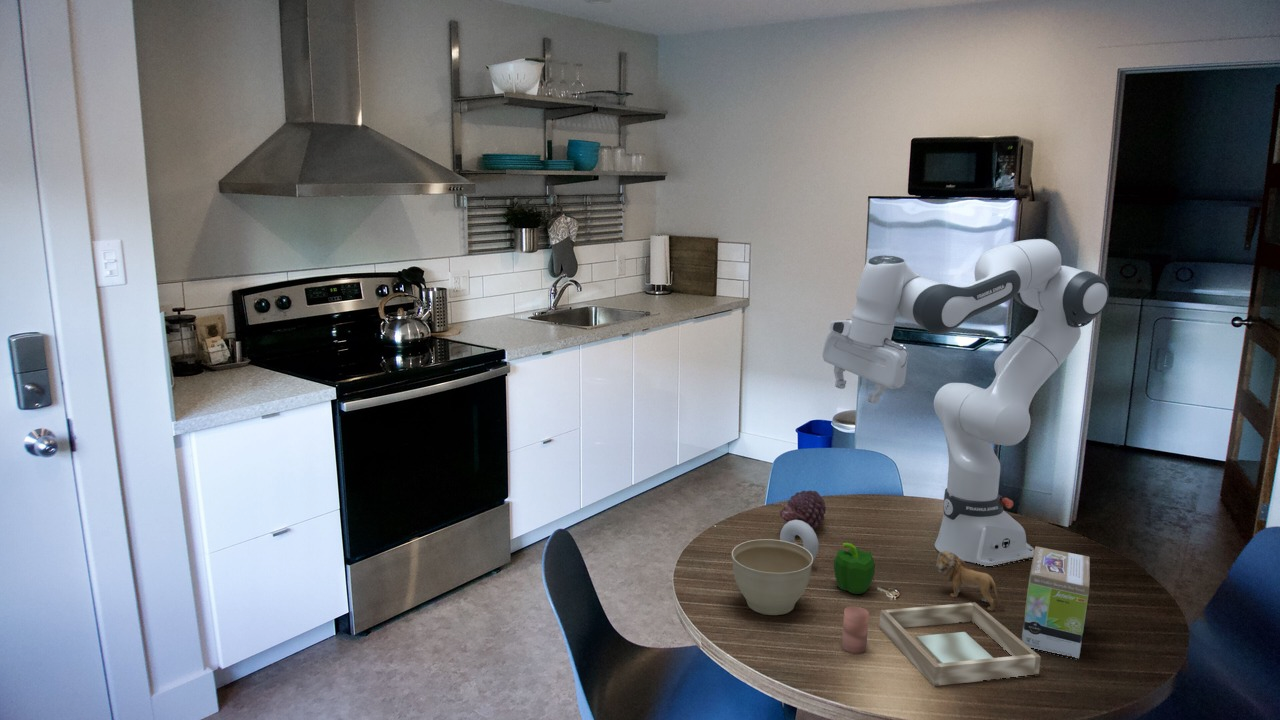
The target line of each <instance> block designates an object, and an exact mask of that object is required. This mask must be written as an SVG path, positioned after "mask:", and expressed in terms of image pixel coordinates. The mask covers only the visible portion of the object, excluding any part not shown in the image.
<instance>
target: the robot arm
mask: <svg viewBox="0 0 1280 720" xmlns="http://www.w3.org/2000/svg"><path fill="white" fill-rule="evenodd" d="M905 260H906V259H903V258H902V257H898V256H896V255H895V256H894V255H877V256H873V257H870V258H869V259H868V260H867V262H866V263H865V265H864V268H863V270H862V273H861V274H860V278H859V282H858V287H857V291H856V295H855V296H856V305H855V307H854V310H852V313H851V317H850V319H848V318H847V319H845V320H843V319H842V320H841V319H840V320H832V321H830V325H829V332H828V334H827V336H826V339H825V341H824V345H823V350H822V358H823V361H824V363H825V362H826V363H828V364H830V365H832V366H834V367H833V373H834V377H835V383H834V387H835V388H837V389H840V390H842V389H843V390H844V389H845V388H846V384H847V380H845V378H844V377H845V376H844V372H846V371H847V372H849V373H852V374H854V375H857V376H858V377H861V378H864V379H866V380H869V381H870V382H873V383H875V385H874V388H875V390H874V391H873V393H869V394H868V398H867V401H868V402H869V403H872V404H873V405H875V404H878V403H879V402H880V398H881V396H882V395H883V394H884V393H885V392H886V391H887V389H889V390H890V389H891V390H892V389H893V390H894V389H895V390H896V389H900V388H902V387H903V386H904V385H905V381H906V375H907V367H908V365H907V364H908V359H909V352H908V349H907V348H906V347H905V344H902V343H901V342H900V343H899V342H897V341H894V340H892V337H893V332H894V328H895V325H896V319H897V318H900V319H903V320H905V321H907V322H909V323H912V324H914V325H916V326H919V327H921V328H923V329H924V330H926V331H928V332H930V333H931V334H934V335H945V334H948V333H951V332H952V331H954V330H955V329H957V328H958V327H960V326H961V325H962V324H964V323H965V322H966V321H967V320H970V319H971V318H973V317H975V316H977V315H979V314H981V313H984V312H986V311H988V310H990V309H993V308H995V307H997V306H999V305H1002V304H1004V303H1006V302H1008V301H1010V300H1012V299H1013V298H1014V299H1015V301H1016V302H1018V303H1019V304H1021V305H1022V306H1024V307H1027V308H1032V309H1035V310H1037V311H1038V312H1037V315H1036V317H1035V319H1034V321H1033V322H1032V323H1031V324H1029V325H1028V326H1027V327H1026V328H1025V329H1024V330H1022V332H1020V333H1019V335H1017V337H1015V339H1014V340H1012V342H1011V343H1010V344H1009V345H1008V346H1007V347H1006V348H1005V349H1004V350H1003V352H1002V353H1000V354H999V356H997V358H996V359H995V360H994V365H993V367H994V372H995V374H996V375H995V376H994V379H993V381H992V383H991V384H990V385H989V386H988V387H987V388H983V387H980V386H977V385H974V384H972V383H967V382H948V383H946V384H944V385H943V386H941V387H940V388H939V389H938V390H937V392H936V393H935V396H934V399H933V408H934V412H935V414H936V416H937V418H938V419H939V421H940V423H941V425H942V428H943V432H944V437H945V442H946V446H947V453H948V472H947V483H946V484H947V485H946V488H945V490H944V494H943V495H944V496H943V506H942V507H943V514H942V515H943V516H942V520H941V524H940V529H939V532H938V536H937V538H936V540H935V542H934V548H935V549H936V550H937V551H938V553H941V552H943V551H949V552H952V553H953V554H955V555H956V556H958V558H960V559H962V560H963V561H964V562H968V563H973V564H976V563H977V564H976V565H979V564H980V565H979V566H982V565H984V566H983V567H986V566H993V565H998V564H1002V563H1006V562H1010V561H1016V560H1020V559H1023V558H1028V557H1033V555H1034V550H1035V548H1034V547H1033V546H1031V544H1029V543H1027V536H1026V530H1025V528H1024V527H1023V526H1022V525H1021V523H1019V522H1018V521H1017V520H1015V519H1014V518H1013V517H1012V516H1011V515H1010V514H1009V513H1007V511H1005V509H1004V507H1005V508H1007V509H1012V507H1014V501H1013V500H1012V499H1011V498H1010V499H1009V498H1008V497H1003V496H1002V495H1000V494H999V487H1000V477H1001V476H1000V475H1001V463H1000V460H999V458H998V456H997V455H996V453H995V452H994V449H993V447H992V444H993V445H998V446H999V445H1001V446H1007V447H1010V446H1011V447H1012V446H1015V445H1018V444H1019V443H1020V442H1022V441H1023V440H1024V439H1025V438H1026V436H1027V435H1028V433H1029V431H1030V427H1031V415H1030V410H1029V409H1030V406H1031V403H1032V401H1033V398H1034V397H1035V394H1036V393H1037V392H1038V390H1039V389H1040V388H1041V386H1043V384H1045V382H1046V381H1047V380H1048V379H1049V378H1050V377H1051V376H1052V375H1053V374H1054V373H1055V372H1056V370H1057V369H1059V368H1060V367H1061V365H1062V364H1063V363H1064V362H1065V360H1067V358H1068V357H1069V355H1070V354H1071V353H1072V351H1073V349H1074V348H1075V347H1076V345H1077V344H1078V342H1079V340H1080V338H1081V333H1082V332H1081V331H1082V330H1081V328H1082V327H1085V326H1087V325H1089V324H1090V323H1091V322H1092V321H1093V320H1094V319H1095V318H1097V317H1098V316H1099V314H1101V312H1102V311H1103V310H1104V309H1105V307H1106V306H1107V304H1108V302H1109V297H1110V291H1109V290H1110V288H1109V285H1108V281H1107V280H1106V279H1104V278H1103V277H1102V276H1100V275H1098V274H1096V273H1094V272H1092V271H1089V270H1083V269H1079V268H1076V267H1073V266H1068V265H1062V255H1061V252H1060V250H1059V248H1058V246H1056V245H1055V244H1054V242H1052V241H1050V240H1048V239H1045V238H1037V239H1036V238H1033V239H1032V238H1031V239H1025V240H1023V239H1022V240H1017V241H1014V242H1010V243H1009V242H1008V243H1006V244H1002V245H998V246H995V247H993V248H991V249H989V250H987V251H984V253H982V254H980V255H979V258H978V259H977V260H976V264H975V266H974V282H972V283H970V284H969V283H968V284H967V285H963V286H955V285H952V284H946V283H942V282H940V281H937V280H934V279H931V278H927V277H925V276H922V275H921V274H919V273H917V272H915V271H914V270H913V269H912V268H910V266H908V264H907V263H906V261H905ZM1030 550H1032V551H1030ZM998 566H999V565H998ZM993 567H994V566H993Z"/></svg>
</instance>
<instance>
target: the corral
mask: <svg viewBox="0 0 1280 720" xmlns="http://www.w3.org/2000/svg"><path fill="white" fill-rule="evenodd" d="M970 621H972V622H970ZM959 622H962V623H972V624H974V623H975V624H976V625H977V626H978V627H979V629H980V630H981V629H982V630H983V631H984V632H985V633H986V634H988V635H989V636H990V637H991V638H992V639H994V640H995V641H996V642H997V643H998V644H999V645H1000V646H1001V647H1003V649H1002V650H1003V651H1005V650H1006V651H1007V652H1008V653H1009V654H1010V655H1012V656H1010V655H1009V654H1008V653H1007V652H1006V651H1005V652H1006V653H1007V654H1008V655H1009V656H1001V657H993V656H992V655H991V654H990V653H989V652H988V651H987V650H986V649H984V647H982V646H981V645H980V644H979V643H978V642H976V640H975V639H973V638H972V637H971V636H970V635H969V633H967V632H966V631H960V632H948V633H939V634H938V633H936V634H928V635H927V634H926V635H916V637H915V638H916V640H917V641H916V640H915V639H914V638H913V636H912V635H910V633H909V632H908V631H907V630H906V629H905V628H915V627H916V628H917V627H927V626H928V627H929V626H938V625H939V626H940V625H949V624H960V623H959ZM975 624H974V625H975ZM976 625H975V626H976ZM977 626H976V627H977ZM978 627H977V628H978ZM879 629H881V631H882V632H883V633H884V634H885V635H886V636H887V637H888V638H889V639H890V640H891V641H892V643H893V644H894V645H895V646H896V647H897V648H898V649H899V650H900V651H901V652H902V653H903V654H904V656H905V657H906V658H907V659H908V660H909V661H910V663H912V664H913V666H914V667H915V668H916V669H918V671H919V672H920V673H921V675H923V676H924V677H925V678H926V679H927V680H928V682H929V683H930V684H931V685H932V686H933V687H937V686H946V685H947V686H949V685H956V684H965V683H976V682H984V681H983V680H987V681H992V680H991V679H996V680H1003V679H1002V678H1006V679H1011V678H1010V677H1016V678H1019V677H1018V676H1025V677H1028V676H1027V675H1034V674H1040V667H1041V658H1042V657H1041V656H1040V655H1039V654H1038V653H1037V652H1035V650H1034V649H1031V648H1030V647H1028V646H1027V645H1026V644H1025V643H1024V642H1022V639H1020V638H1018V637H1017V635H1015V634H1014V633H1012V631H1011V630H1009V629H1008V628H1007V627H1006V626H1004V625H1003V624H1002V623H1000V622H999V620H997V619H996V618H995V617H993V616H992V615H991V614H990V613H988V612H987V611H986V610H985V609H984V608H982V606H980V605H979V604H978V603H976V602H975V601H973V602H965V603H954V604H953V603H952V604H942V605H941V604H940V605H938V604H937V605H929V606H918V607H917V606H916V607H907V608H904V607H903V608H895V609H894V608H893V609H892V608H891V609H882V610H880V615H879ZM982 630H981V631H982ZM983 631H982V632H983ZM984 632H983V633H984ZM985 633H984V634H985ZM986 634H985V635H986ZM988 635H987V636H988ZM989 636H988V637H989ZM990 637H989V638H990ZM991 638H990V639H991ZM992 639H991V640H992ZM918 642H920V644H921V645H922V646H923V647H924V648H925V649H926V650H927V651H928V652H929V653H930V654H931V655H932V656H933V657H934V658H935V659H936V660H937V661H936V660H935V659H934V658H933V657H932V656H931V655H930V654H929V653H928V652H927V651H926V650H925V649H924V648H923V647H922V646H921V645H920V644H919V643H918ZM996 642H995V643H996ZM997 643H996V644H997ZM998 644H997V645H998ZM999 645H998V646H999ZM1000 646H999V647H1000ZM1001 647H1000V648H1001ZM938 662H939V663H938ZM1000 678H1001V679H1000Z"/></svg>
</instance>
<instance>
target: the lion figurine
mask: <svg viewBox="0 0 1280 720" xmlns="http://www.w3.org/2000/svg"><path fill="white" fill-rule="evenodd" d="M937 555H938V556H937V559H936V563H935V564H936V565H935V567H936V568H937V571H938V572H940V573H941V574H942V575H943V576H944V577H945V579H946V580H948V581H950V582H952V591H953V592H950V594H949V595H950V597H951V598H957V597H958V595H959V593H960V592H961V590H962V585H964V586H966V587H969V588H972V589H973V588H975V589H976V588H979V590H980V594H981V595H982V598H981V601H982V602H983V601H985V602H984V603H988V604H989V605H990V606H987V607H986V609H988V610H991V611H990V612H994V611H995V600H994V599H993V597H992V596H991V592H992V590H993V593H994V596H995V599H996V602H997V605H998V606H999V607H1000V608H1001V609H1003V610H1007V606H1006V605H1004V604H1002V603H1001V602H1000V597H999V594H998V589H997V585H996V583H995V581H994V579H993V577H992V576H991V575H990V574H988V573H986V572H981V571H976V570H975V569H974V570H973V569H972V568H970V567H969V566H968V565H967V563H966V561H963V560H962V559H960V558H958V556H956V555H955V554H953V553H952V552H949V551H943V552H938V554H937ZM988 610H987V611H988ZM993 610H994V611H993Z"/></svg>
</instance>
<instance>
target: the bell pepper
mask: <svg viewBox="0 0 1280 720" xmlns="http://www.w3.org/2000/svg"><path fill="white" fill-rule="evenodd" d="M842 546H843V548H848V550H845V549H838V550H837V553H836V555H835V557H834V559H833V571H834V576H835V581H836V583H837V586H838V587H839V589H840V590H843V591H848V592H849V593H851V594H856V595H861V594H864V593H866V592H867V590H868V589H869V588H870V587H871V584H872V582H873V579H874V576H875V571H876V563H875V559H874V557H873V554H872V552H871V551H864V550H861V549H859V548H858V547H856V546H855V545H854V544H853V543H849V542H843V543H842ZM849 548H850V549H849Z"/></svg>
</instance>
